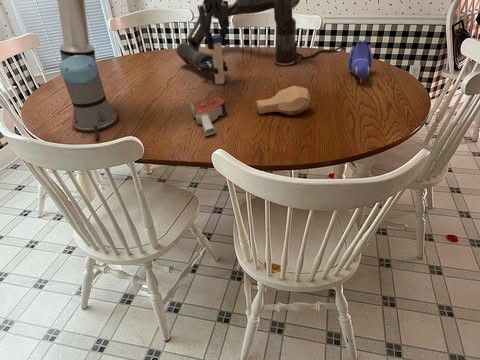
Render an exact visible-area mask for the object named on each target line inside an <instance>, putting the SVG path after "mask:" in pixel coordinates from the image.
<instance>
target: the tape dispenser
mask: <svg viewBox="0 0 480 360" xmlns="http://www.w3.org/2000/svg"><path fill="white" fill-rule="evenodd" d="M207 103H213V104H210V105H208V106H206V104H207ZM188 106H189V111H190V113H191V114H192V116H193V118H194V119H195V120H196V123H197V124H198V125H202V128H203V134H204V136H205V137H206V136H207V137H208V136H211V135H214V134H215V133H216V127H214V125H213V123H212V122H213V121H216V120H217V119H218V117H219V116H220V117H221V116H224V115H225V114H226V103H225V100H224V98H223V97H215V98H210V99H205V100H199V101H189V102H188Z"/></svg>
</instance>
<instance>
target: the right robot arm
mask: <svg viewBox="0 0 480 360" xmlns="http://www.w3.org/2000/svg"><path fill="white" fill-rule="evenodd" d="M300 2H301V0H235V1H234V2H233V3H231V4H228V16H229V17H233V16H240V15H251V14H258V13H262V12H266V11H269V10H273V17H274V18H273V19H274V22H275V65H277V66H282V67H287V66H293V65H294V64H295V63H296V62H297V59H299V58H301V60H302V59H303V60H306V59H307V60H308V59H311V58H312V57H315V56H316V55H318V54H320V53H332V52H336V51H338V50H340V49H341V50H346V47H344V46H338V47H336V48H334V49H321V50H317V51H316V52H315V53H312V54H310V55H307V56H303V54H301V53H300V52H298V51H297V48H298V47H297V46H298V45H297V44H298V43H297V41H296V31H297V30H296V29H297V21H296V18H294V17H293V9H295V8H296V7H297V6H298V5H299V3H300ZM221 10H222V5H221ZM209 13H210V12H209ZM222 16H223V14H222ZM212 18H213V19H216V20H218V18H217V15H216V13H215V12H214V13H213V15H212ZM205 20H206V8H205ZM205 38H206V37H205V33H204V32H201V31H200V18H199V16H198V17H197V19H196V22H195V24H194V26H193V28H192V29H191V31H190V33H189V34H188V35H187V38H186V40H187V42H181V43H179V44H178V45H177V46H176V49H175V52H176V54H177V56H178V57H179V58H180V59H181V61H183V63H185V64H186V65H192V66H194V67H195V68H196V69H197V72H200V73H203V74H209V73H211V74H214V73H215V74H218V69H217V68H215V67H214V64H213V55H210V54H208V53H205V52H203V51H200V46H201V44H202V43H203V41H204V40H205ZM223 69H224V72H228V69H229V68H228V66H227V62H226V61H225V60H224V59H223ZM215 74H214V75H215Z"/></svg>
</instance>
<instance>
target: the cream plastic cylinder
mask: <svg viewBox="0 0 480 360" xmlns="http://www.w3.org/2000/svg"><path fill="white" fill-rule="evenodd" d="M211 52H212V57H213V64H214V67H215V68H217V69H218V74H215V73H213V74H214V82H215V84H216V85H223V84H225V71H224V69H223V60H224V59H223V46H222V44H221V42H220V43H213V50H211Z"/></svg>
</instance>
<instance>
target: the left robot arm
mask: <svg viewBox="0 0 480 360" xmlns="http://www.w3.org/2000/svg"><path fill="white" fill-rule="evenodd" d="M221 5H222V10H221ZM228 5H229V1H228V0H203V2H202V4H200V5H197V10H198V17H199V18H200V31H201V32H204V33H205V37H204V38H205V42H207V49H208V50H211V51H212V50H213V41H212V35H213V34H212V32H211V27H212V20H213V16H212V15H213V13H214V12H215V13H216V15H217V18H218V19H217V21H218V24H219V27H220V28H219V29H218V32H219V33H218V35H221V36H222V40H223V41H222V42H221V44H222V47H226V37H227V30H228V28H229V27H230V18H229V17H230V16H228ZM205 8H206V20H205ZM57 9H58V14H59V22H60V27H61V34H62V44H61V45H60V47H59V51H60V59H61V62H60V64H59V71H60V75H61V77H62V78H63V82H64V84H65V87H66V89H67V93H68V95H69V99H70V101H71V104H72V108H73V114H72V117H73V118H72V119H73V125H74V128H75V129H76V131H78V132H84V133H92V132H94V136H95V141H98V140H99V133H98V132H99V131H102V130H105V129H107V128H110V127H111V126H113V125H115V124H116V122H117V121H118V116H117V113H116V111H115V110H114V108H113V107H112V105H111V103H110V102H109V101H108V99H107V96H106V92H105V89H104V87H103V86H104V85H103V83H102V79H101V75H100V72H99V66H98V64H97V61H96V53H95V52H96V51H95V47H94V46H93V45H92V44H90V38H89V37H90V36H89V27H88V21H87V11H86V1H85V0H57ZM209 12H210V13H209ZM222 14H223V16H222Z"/></svg>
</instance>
